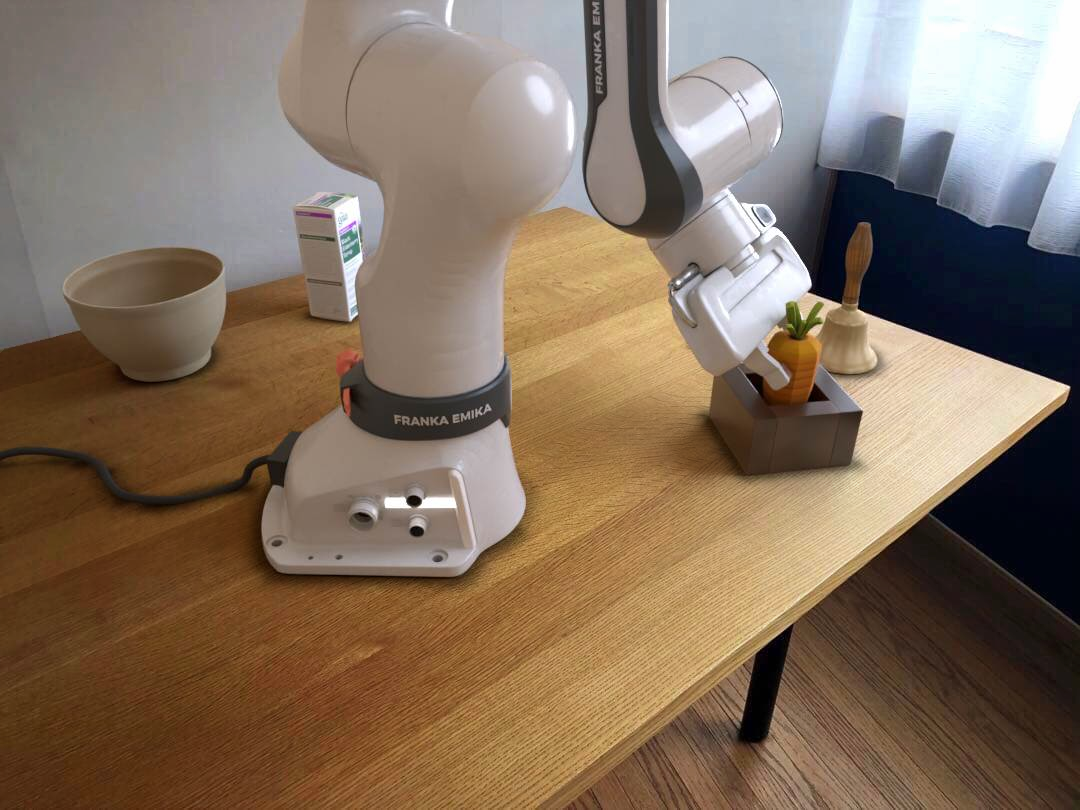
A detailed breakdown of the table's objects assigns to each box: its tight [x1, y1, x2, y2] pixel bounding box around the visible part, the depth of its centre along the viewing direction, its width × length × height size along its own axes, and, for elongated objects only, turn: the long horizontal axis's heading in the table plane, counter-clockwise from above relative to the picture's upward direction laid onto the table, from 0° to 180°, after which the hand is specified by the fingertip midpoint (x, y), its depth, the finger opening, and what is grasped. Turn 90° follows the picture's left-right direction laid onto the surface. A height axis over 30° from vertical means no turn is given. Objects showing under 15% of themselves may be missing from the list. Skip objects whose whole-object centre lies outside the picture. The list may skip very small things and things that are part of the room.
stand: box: [708, 362, 864, 476], centre depth 83 cm, size 10×10×6 cm
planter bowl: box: [61, 246, 227, 383], centre depth 95 cm, size 16×16×11 cm
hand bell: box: [814, 221, 878, 375], centre depth 95 cm, size 8×8×16 cm
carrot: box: [763, 300, 825, 407], centre depth 81 cm, size 5×5×15 cm
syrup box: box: [292, 191, 367, 323], centre depth 106 cm, size 6×6×14 cm
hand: (796, 369), depth 80 cm, fingers open, 5 cm apart
